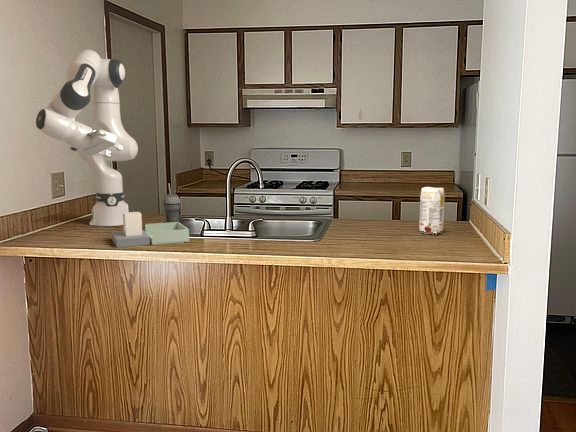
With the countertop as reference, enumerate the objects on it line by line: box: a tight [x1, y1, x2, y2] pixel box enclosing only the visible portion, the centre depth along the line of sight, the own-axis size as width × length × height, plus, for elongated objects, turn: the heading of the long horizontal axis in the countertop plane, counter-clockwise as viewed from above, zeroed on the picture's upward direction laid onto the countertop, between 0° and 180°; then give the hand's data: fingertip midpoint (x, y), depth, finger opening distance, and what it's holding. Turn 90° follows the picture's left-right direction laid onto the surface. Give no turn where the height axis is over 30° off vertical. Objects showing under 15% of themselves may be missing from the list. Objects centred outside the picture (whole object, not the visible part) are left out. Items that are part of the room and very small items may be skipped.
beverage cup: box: [162, 183, 182, 223], centre depth 247 cm, size 7×7×20 cm
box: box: [144, 221, 190, 246], centre depth 229 cm, size 18×14×5 cm
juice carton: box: [418, 186, 445, 233], centre depth 240 cm, size 8×9×19 cm
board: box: [111, 229, 151, 248], centre depth 224 cm, size 16×12×3 cm
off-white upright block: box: [122, 211, 143, 236], centre depth 224 cm, size 6×6×8 cm
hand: (115, 151), depth 223 cm, fingers open, 8 cm apart
